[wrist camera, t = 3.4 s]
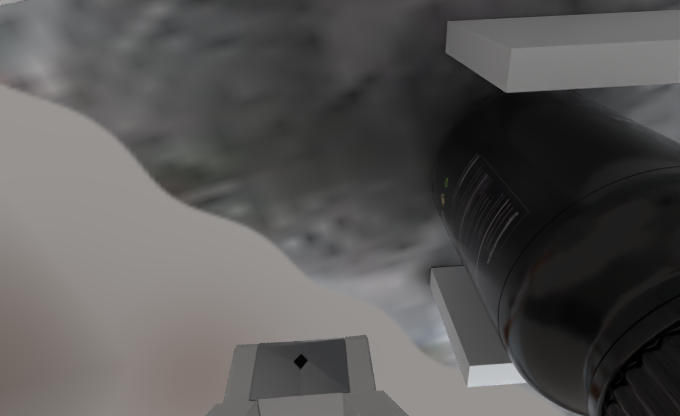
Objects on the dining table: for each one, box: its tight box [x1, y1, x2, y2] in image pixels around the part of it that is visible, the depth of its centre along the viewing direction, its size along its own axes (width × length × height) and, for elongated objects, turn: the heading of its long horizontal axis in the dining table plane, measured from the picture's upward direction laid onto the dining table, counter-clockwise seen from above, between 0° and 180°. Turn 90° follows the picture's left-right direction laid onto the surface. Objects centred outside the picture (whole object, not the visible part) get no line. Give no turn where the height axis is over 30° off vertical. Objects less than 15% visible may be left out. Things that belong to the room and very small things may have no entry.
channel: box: [430, 10, 680, 387], centre depth 15 cm, size 11×8×6 cm
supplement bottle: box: [433, 90, 680, 416], centre depth 13 cm, size 7×7×12 cm
